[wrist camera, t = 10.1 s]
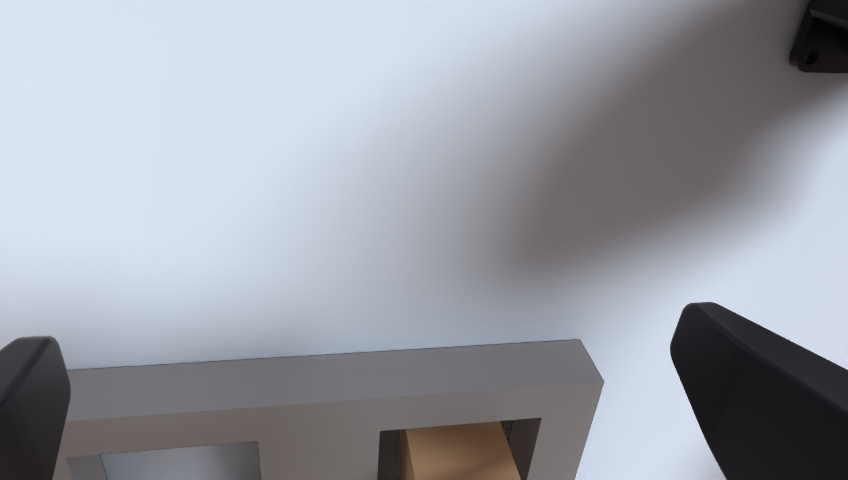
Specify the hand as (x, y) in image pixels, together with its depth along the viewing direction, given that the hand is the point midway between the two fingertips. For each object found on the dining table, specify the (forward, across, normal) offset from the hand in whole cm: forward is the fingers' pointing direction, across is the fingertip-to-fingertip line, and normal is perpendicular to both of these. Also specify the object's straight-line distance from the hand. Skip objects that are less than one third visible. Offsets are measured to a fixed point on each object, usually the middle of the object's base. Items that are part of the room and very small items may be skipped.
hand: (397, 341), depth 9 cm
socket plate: (+12, +1, +18) cm, 22 cm away
